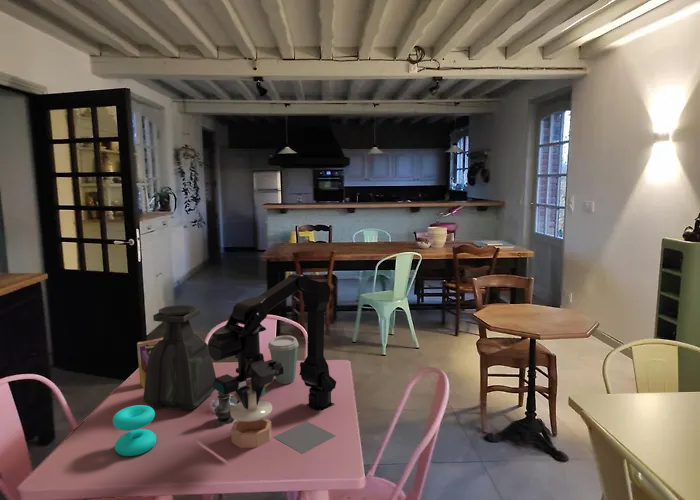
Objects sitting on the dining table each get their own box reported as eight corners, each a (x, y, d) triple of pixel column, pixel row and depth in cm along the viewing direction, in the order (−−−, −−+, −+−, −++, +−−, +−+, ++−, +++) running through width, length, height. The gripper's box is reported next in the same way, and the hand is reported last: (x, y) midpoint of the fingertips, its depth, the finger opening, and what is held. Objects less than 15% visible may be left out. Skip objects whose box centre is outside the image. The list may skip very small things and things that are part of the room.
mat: (306, 423, 137) (306, 421, 137) (336, 437, 129) (336, 435, 129) (273, 439, 129) (273, 437, 129) (302, 455, 121) (302, 453, 120)
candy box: (165, 378, 171) (163, 336, 170) (169, 381, 168) (167, 339, 166) (139, 384, 166) (136, 341, 164) (142, 388, 163) (139, 345, 161)
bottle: (219, 391, 160) (215, 303, 156) (195, 414, 144) (190, 316, 140) (170, 388, 163) (165, 301, 159) (141, 409, 147) (134, 314, 143)
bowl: (256, 426, 136) (256, 413, 135) (278, 439, 129) (277, 425, 128) (225, 440, 129) (224, 426, 128) (247, 454, 122) (246, 439, 121)
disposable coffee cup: (297, 386, 163) (296, 344, 161) (266, 387, 163) (264, 344, 161) (301, 374, 173) (300, 334, 171) (271, 374, 173) (270, 334, 171)
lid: (256, 398, 135) (255, 380, 135) (280, 410, 128) (280, 392, 127) (222, 412, 128) (221, 393, 127) (245, 425, 120) (245, 405, 119)
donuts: (139, 400, 131) (162, 408, 126) (141, 434, 132) (164, 444, 127) (104, 414, 122) (127, 424, 117) (107, 451, 124) (130, 462, 118)
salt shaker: (229, 426, 136) (228, 385, 135) (210, 424, 137) (208, 384, 136) (238, 416, 142) (237, 377, 140) (220, 414, 143) (218, 376, 142)
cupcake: (247, 401, 152) (246, 365, 150) (240, 391, 159) (239, 357, 158) (273, 396, 156) (272, 360, 154) (265, 386, 163) (264, 352, 162)
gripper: (235, 367, 113) (238, 429, 115) (295, 348, 127) (297, 404, 129) (210, 356, 121) (213, 415, 123) (270, 339, 134) (272, 392, 136)
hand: (251, 406), depth 128 cm, fingers closed on lid, 3 cm apart
